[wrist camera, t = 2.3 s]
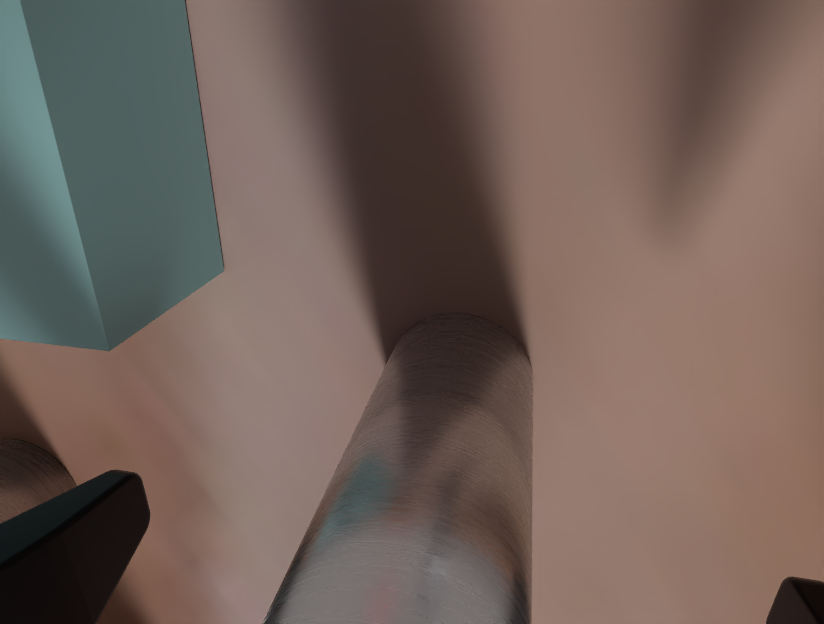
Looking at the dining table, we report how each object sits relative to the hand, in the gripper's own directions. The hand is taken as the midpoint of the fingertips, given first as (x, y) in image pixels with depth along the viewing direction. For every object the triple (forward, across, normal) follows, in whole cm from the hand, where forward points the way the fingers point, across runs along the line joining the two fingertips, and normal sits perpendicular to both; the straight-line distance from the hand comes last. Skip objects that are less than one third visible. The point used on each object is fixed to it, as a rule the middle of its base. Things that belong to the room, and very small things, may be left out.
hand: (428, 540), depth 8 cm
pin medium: (+4, 0, 0) cm, 4 cm away
